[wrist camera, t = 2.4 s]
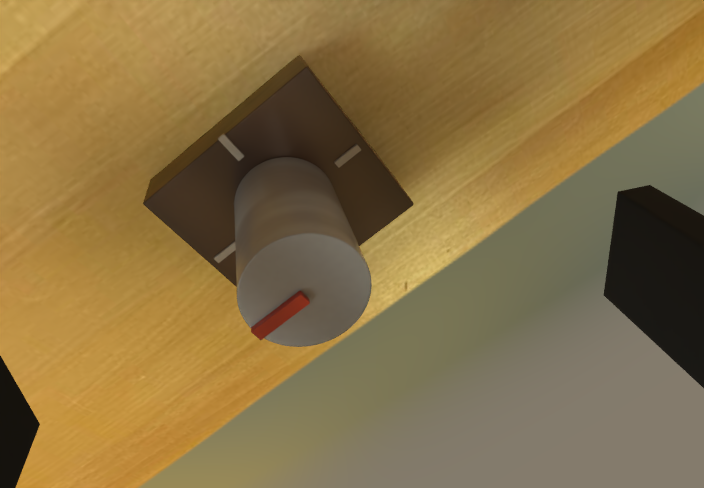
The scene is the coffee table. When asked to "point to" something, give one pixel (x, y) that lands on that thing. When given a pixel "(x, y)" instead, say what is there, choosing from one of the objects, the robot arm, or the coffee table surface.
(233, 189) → the control panel
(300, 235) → the dial
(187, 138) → the coffee table surface
